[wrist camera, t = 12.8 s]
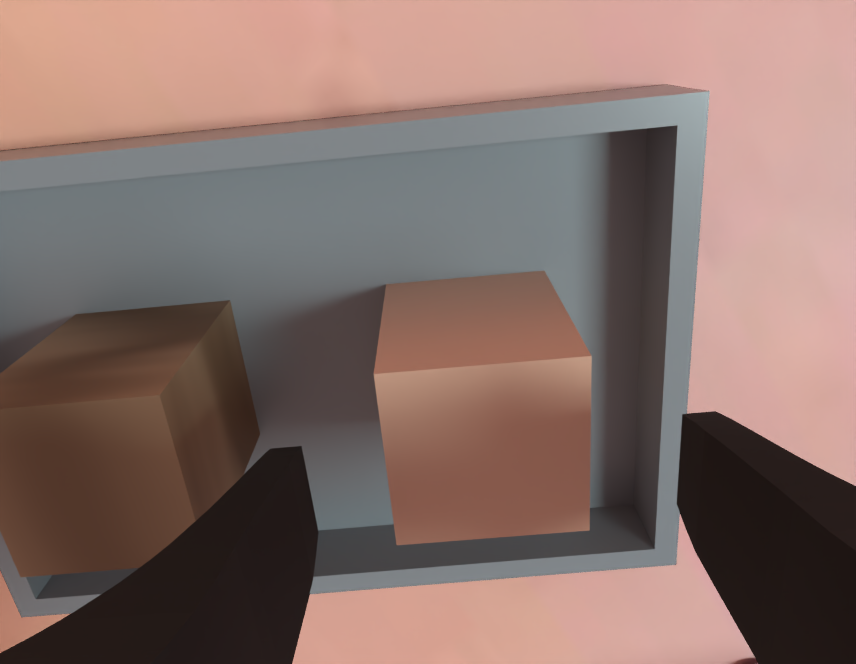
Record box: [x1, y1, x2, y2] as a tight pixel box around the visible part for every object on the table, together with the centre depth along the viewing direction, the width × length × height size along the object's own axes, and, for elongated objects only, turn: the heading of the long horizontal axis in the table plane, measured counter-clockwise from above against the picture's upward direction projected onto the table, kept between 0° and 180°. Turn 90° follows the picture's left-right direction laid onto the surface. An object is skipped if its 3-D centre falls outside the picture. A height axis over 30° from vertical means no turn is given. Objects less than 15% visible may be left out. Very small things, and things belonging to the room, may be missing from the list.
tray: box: [0, 84, 709, 617], centre depth 17 cm, size 18×12×2 cm
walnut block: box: [0, 300, 260, 577], centre depth 15 cm, size 4×4×5 cm
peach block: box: [374, 271, 592, 545], centre depth 15 cm, size 4×4×5 cm
